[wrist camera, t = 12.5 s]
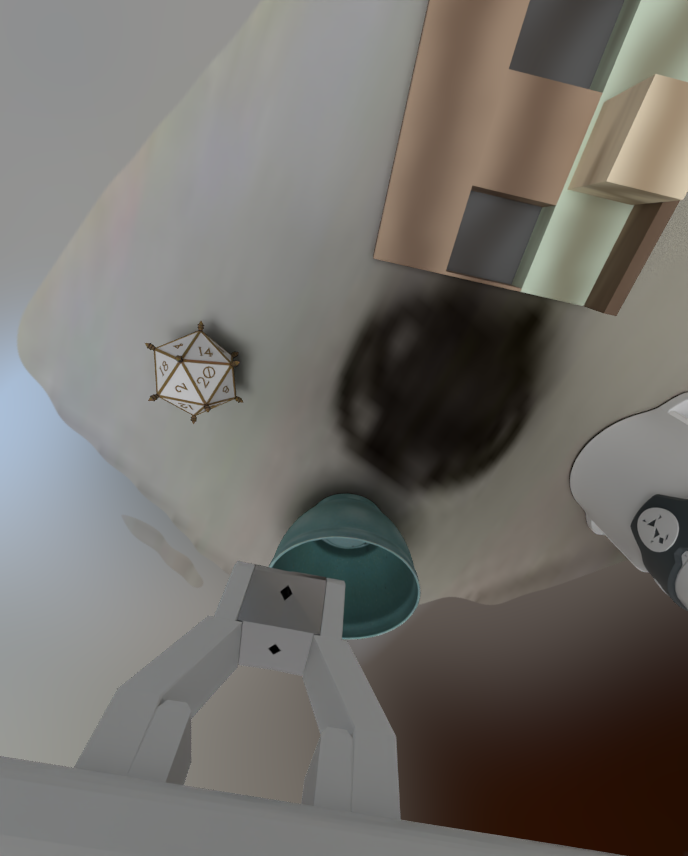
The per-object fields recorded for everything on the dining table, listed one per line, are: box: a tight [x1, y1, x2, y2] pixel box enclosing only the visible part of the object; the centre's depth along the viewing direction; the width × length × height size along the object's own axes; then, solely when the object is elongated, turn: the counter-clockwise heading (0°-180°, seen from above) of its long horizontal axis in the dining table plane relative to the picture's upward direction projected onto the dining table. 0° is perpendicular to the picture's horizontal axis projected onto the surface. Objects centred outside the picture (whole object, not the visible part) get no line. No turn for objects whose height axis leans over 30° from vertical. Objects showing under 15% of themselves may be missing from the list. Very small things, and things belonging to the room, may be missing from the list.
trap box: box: [373, 0, 688, 316], centre depth 26 cm, size 19×19×6 cm
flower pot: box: [269, 494, 421, 639], centre depth 43 cm, size 16×16×11 cm
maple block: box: [568, 74, 688, 205], centre depth 23 cm, size 5×5×5 cm
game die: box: [145, 321, 243, 424], centre depth 35 cm, size 9×8×10 cm
